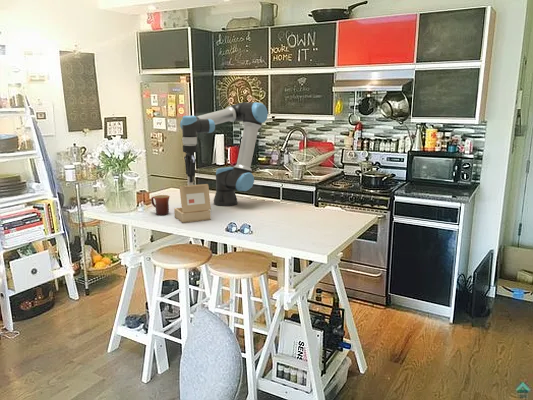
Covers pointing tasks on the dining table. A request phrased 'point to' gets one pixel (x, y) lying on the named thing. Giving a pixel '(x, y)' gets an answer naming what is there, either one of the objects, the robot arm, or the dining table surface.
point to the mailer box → (192, 215)
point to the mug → (161, 204)
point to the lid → (195, 198)
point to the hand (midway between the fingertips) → (190, 187)
